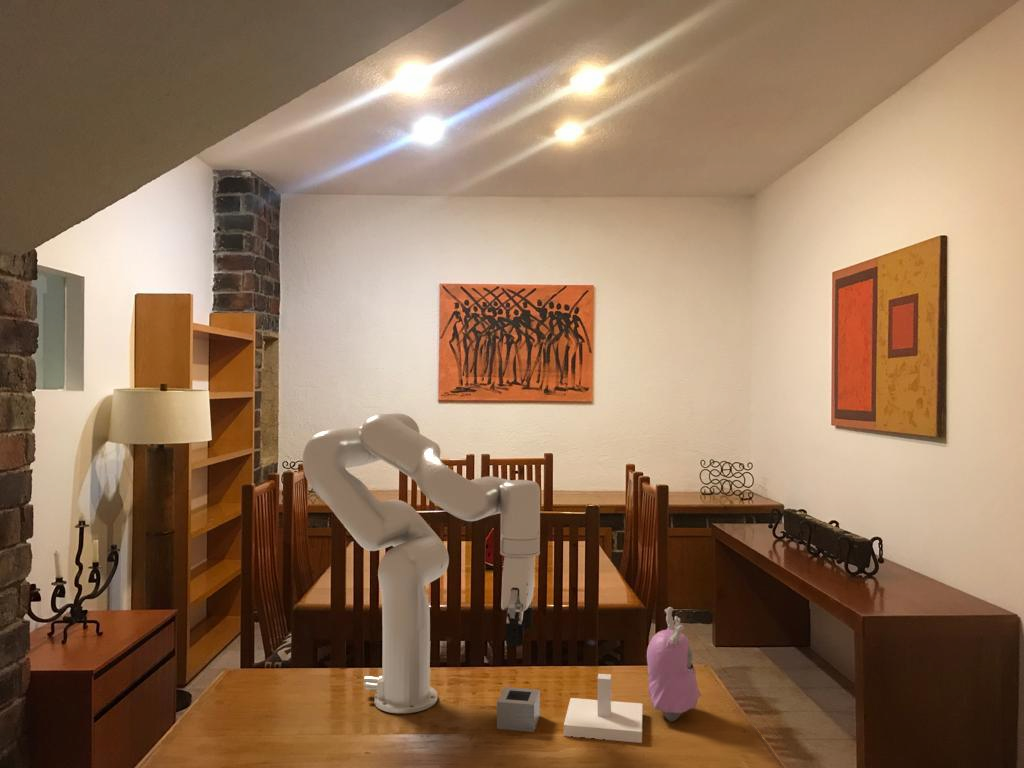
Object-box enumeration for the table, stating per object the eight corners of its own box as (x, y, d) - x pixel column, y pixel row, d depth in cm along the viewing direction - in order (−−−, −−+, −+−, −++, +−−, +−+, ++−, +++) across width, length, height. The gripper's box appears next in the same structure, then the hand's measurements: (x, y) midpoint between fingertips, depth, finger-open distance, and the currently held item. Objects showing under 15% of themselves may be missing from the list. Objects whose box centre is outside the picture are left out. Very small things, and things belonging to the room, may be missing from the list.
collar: (496, 728, 136) (496, 701, 136) (504, 712, 142) (504, 686, 142) (534, 732, 134) (534, 704, 134) (539, 715, 141) (539, 689, 141)
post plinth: (563, 736, 133) (563, 686, 133) (570, 708, 145) (570, 662, 145) (641, 742, 130) (641, 692, 130) (642, 713, 142) (642, 667, 142)
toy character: (702, 731, 135) (702, 622, 135) (646, 725, 137) (646, 618, 137) (699, 703, 147) (699, 603, 147) (647, 699, 149) (647, 600, 149)
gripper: (508, 536, 148) (508, 621, 148) (491, 555, 131) (490, 650, 131) (545, 537, 147) (545, 623, 146) (532, 557, 130) (531, 653, 129)
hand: (519, 636), depth 139 cm, fingers open, 9 cm apart
